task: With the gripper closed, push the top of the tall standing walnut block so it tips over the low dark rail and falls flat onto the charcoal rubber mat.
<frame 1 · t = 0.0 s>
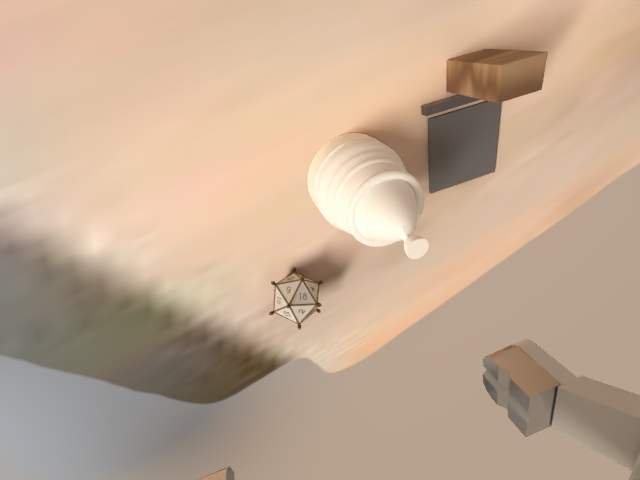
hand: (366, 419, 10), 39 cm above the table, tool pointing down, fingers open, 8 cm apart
honey pot: (349, 176, 50), on the table
walnut block: (465, 70, 47), on the table
twenty-sided die: (290, 281, 57), on the table
mat: (463, 146, 53), on the table
rail: (465, 96, 49), on the table
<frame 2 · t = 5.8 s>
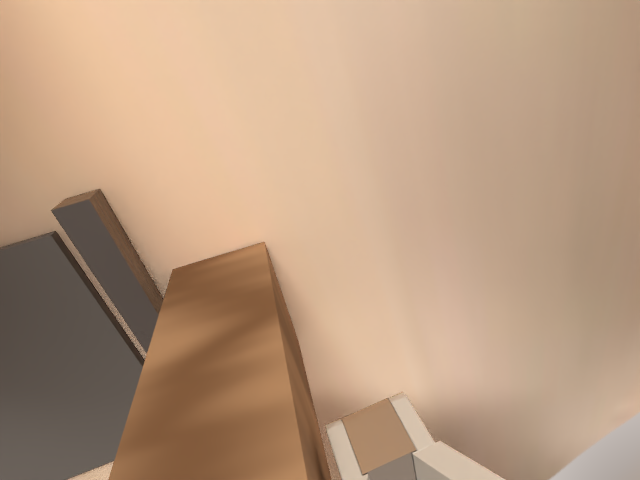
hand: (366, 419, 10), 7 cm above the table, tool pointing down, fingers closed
walnut block: (241, 308, 16), on the table, touching gripper
rail: (167, 334, 15), on the table
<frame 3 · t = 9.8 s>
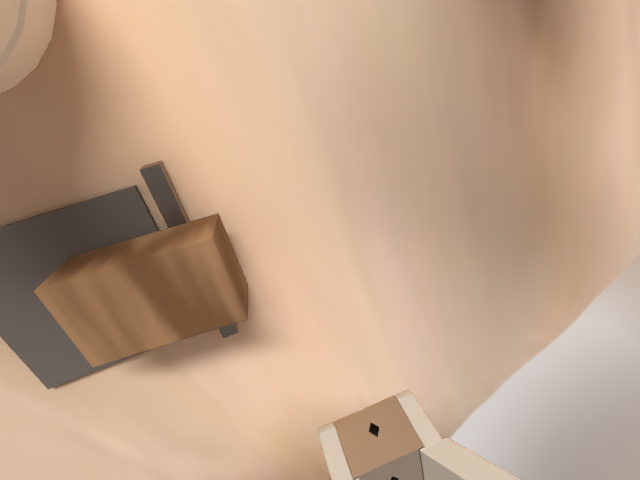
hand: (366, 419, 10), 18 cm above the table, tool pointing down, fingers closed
walnut block: (232, 265, 22), point 4 cm above the table, tilted 97°, touching mat, rail
mat: (90, 292, 24), on the table
rail: (196, 255, 25), on the table
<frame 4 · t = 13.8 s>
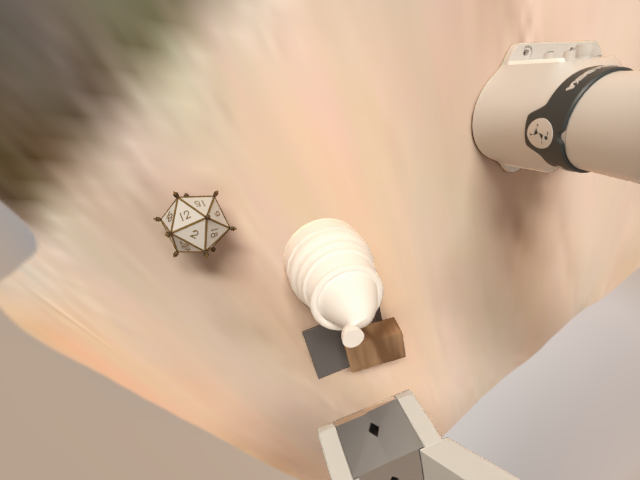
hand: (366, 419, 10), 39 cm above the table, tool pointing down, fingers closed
honey pot: (323, 255, 54), on the table
walnut block: (399, 336, 61), point 4 cm above the table, tilted 97°, touching mat, rail
twenty-sided die: (197, 212, 46), on the table
mat: (341, 343, 62), on the table
rail: (378, 328, 63), on the table
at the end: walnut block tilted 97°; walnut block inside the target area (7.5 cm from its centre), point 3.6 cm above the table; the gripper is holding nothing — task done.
